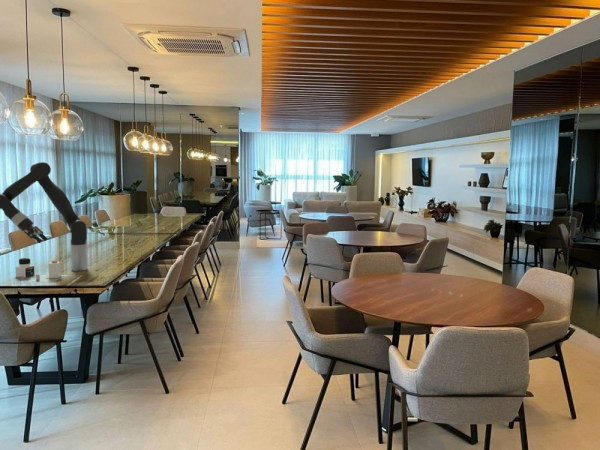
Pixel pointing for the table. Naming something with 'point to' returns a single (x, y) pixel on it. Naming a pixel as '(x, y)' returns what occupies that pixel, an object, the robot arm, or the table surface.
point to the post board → (45, 278)
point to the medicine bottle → (24, 268)
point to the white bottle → (54, 269)
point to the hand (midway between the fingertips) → (43, 240)
